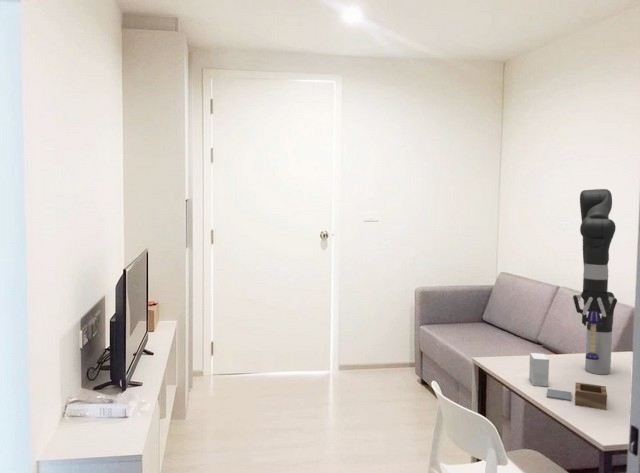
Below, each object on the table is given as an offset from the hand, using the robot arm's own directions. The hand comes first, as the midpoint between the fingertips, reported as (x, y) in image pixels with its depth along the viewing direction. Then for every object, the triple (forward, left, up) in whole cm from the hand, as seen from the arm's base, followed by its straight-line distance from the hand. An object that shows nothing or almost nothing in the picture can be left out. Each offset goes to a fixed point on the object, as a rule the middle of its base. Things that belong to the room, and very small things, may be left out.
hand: (593, 325), depth 187 cm
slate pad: (-2, -10, -27) cm, 29 cm away
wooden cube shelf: (0, 0, -27) cm, 27 cm away
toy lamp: (0, 0, -12) cm, 12 cm away
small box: (-14, -18, -27) cm, 35 cm away
